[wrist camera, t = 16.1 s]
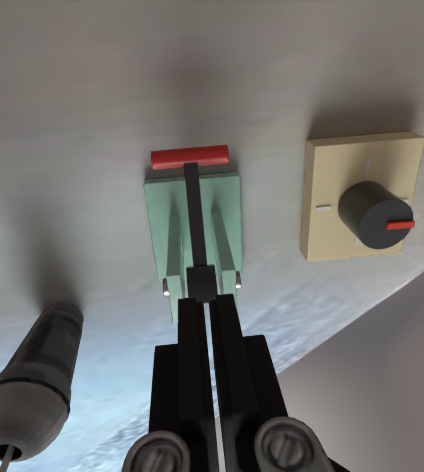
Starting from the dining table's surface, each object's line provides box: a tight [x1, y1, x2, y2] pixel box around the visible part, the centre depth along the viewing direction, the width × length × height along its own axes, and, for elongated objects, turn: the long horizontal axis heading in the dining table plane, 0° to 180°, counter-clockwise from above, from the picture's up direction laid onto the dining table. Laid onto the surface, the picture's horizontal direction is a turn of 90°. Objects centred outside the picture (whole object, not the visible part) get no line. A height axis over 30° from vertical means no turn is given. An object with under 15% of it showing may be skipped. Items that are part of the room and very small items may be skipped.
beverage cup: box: [0, 303, 84, 472], centre depth 33 cm, size 7×7×20 cm
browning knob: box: [338, 181, 415, 250], centre depth 33 cm, size 5×5×5 cm
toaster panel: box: [300, 131, 424, 262], centre depth 36 cm, size 12×10×3 cm
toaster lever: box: [151, 145, 229, 304], centre depth 29 cm, size 12×6×2 cm, turn 4°
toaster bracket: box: [143, 172, 243, 323], centre depth 32 cm, size 11×9×12 cm
